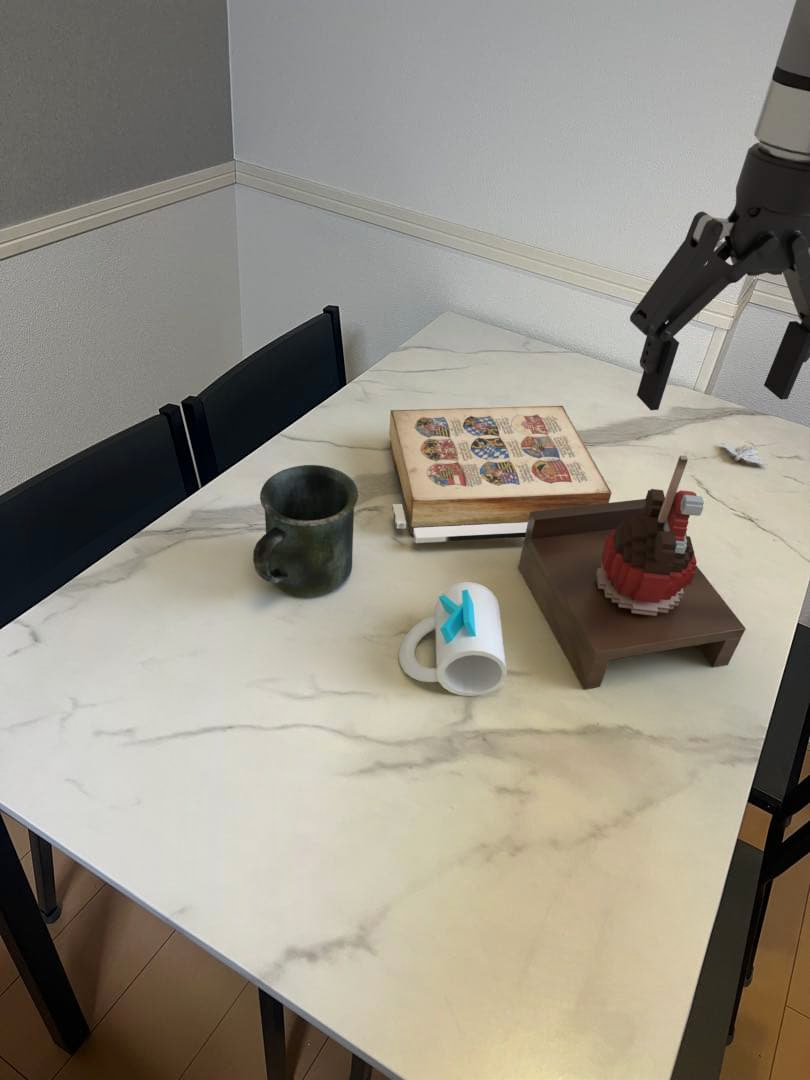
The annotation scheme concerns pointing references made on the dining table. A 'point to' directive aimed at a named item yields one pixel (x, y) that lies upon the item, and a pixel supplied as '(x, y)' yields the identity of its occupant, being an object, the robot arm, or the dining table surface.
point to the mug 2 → (461, 642)
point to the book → (488, 470)
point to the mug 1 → (307, 530)
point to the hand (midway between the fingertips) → (712, 397)
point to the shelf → (594, 620)
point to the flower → (745, 453)
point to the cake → (652, 552)
